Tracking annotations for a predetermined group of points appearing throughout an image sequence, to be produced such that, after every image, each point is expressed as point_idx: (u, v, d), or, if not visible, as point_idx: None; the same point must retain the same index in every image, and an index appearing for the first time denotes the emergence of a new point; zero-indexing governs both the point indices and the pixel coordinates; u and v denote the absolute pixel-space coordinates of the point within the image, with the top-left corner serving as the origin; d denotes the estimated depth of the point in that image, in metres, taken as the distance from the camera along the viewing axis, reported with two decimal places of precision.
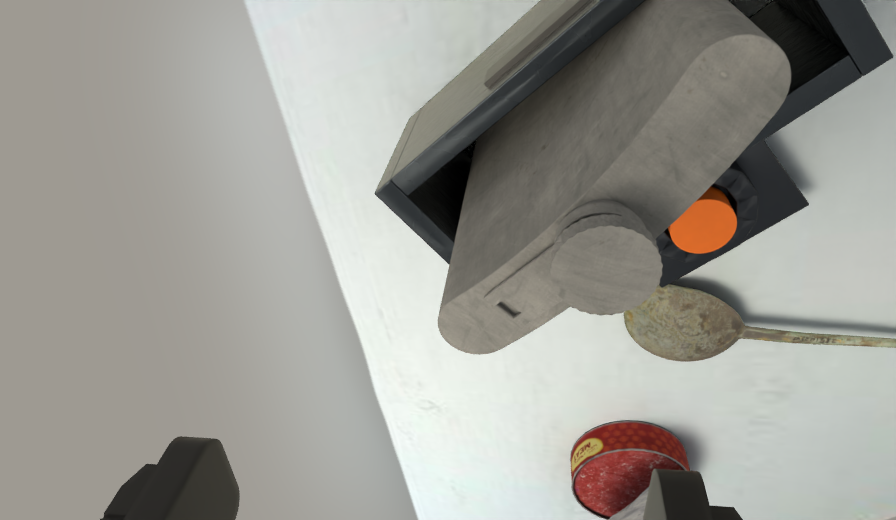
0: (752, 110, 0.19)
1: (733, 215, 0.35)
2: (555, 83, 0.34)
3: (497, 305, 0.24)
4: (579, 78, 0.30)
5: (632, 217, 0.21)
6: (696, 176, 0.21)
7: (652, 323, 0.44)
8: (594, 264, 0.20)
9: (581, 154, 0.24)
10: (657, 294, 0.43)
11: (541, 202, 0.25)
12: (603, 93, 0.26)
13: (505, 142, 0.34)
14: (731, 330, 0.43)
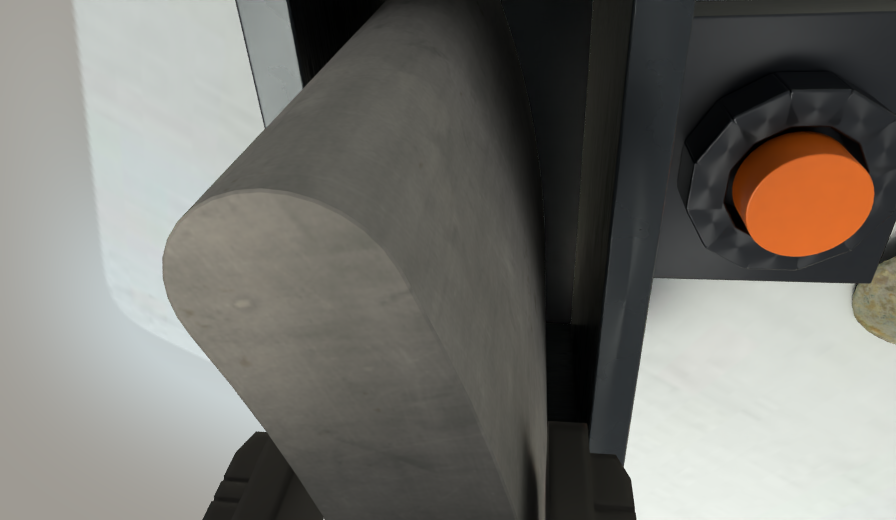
0: (363, 303, 0.08)
1: (836, 158, 0.18)
2: None
3: None
4: None
5: None
6: (443, 444, 0.09)
7: None
8: None
9: None
10: (880, 285, 0.25)
11: None
12: None
13: None
14: None
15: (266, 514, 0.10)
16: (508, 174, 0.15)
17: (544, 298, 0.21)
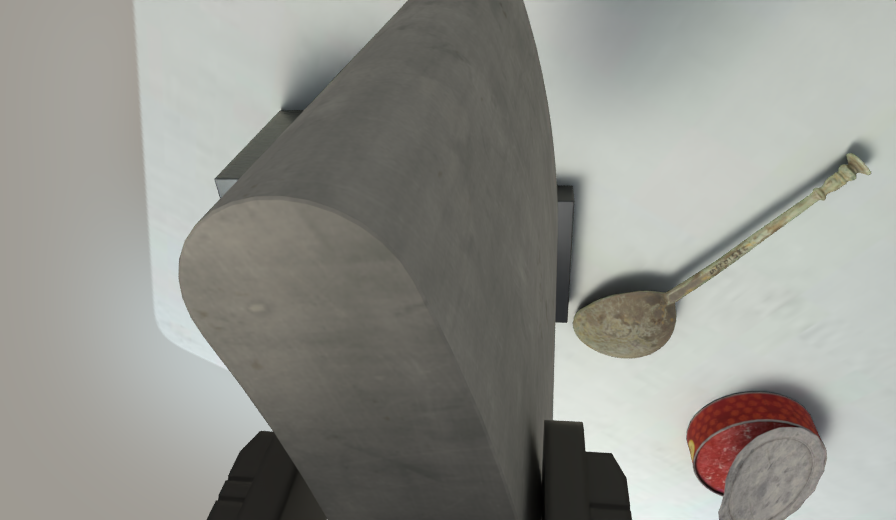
0: (377, 314, 0.08)
1: None
2: None
3: None
4: None
5: None
6: (451, 455, 0.09)
7: (599, 344, 0.46)
8: None
9: None
10: (579, 322, 0.46)
11: None
12: None
13: None
14: (652, 307, 0.43)
15: (271, 513, 0.10)
16: (525, 180, 0.15)
17: None
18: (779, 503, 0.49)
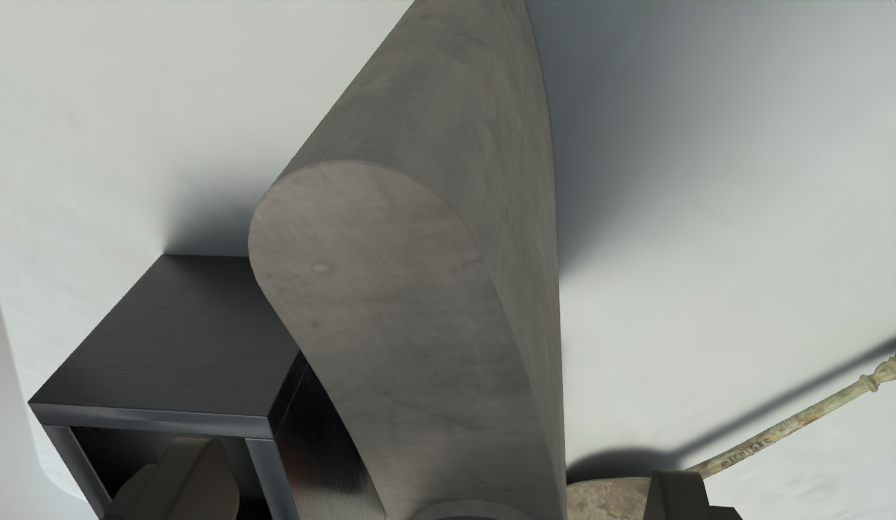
0: (435, 271, 0.08)
1: None
2: None
3: None
4: None
5: None
6: (494, 407, 0.09)
7: None
8: None
9: None
10: None
11: None
12: None
13: None
14: None
15: None
16: (537, 164, 0.16)
17: None
18: None
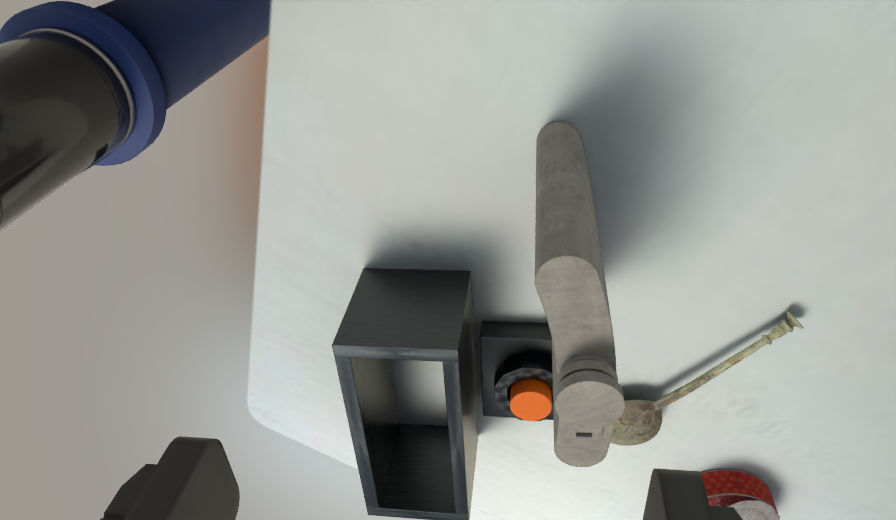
0: (586, 282, 0.31)
1: (535, 393, 0.53)
2: None
3: (577, 436, 0.37)
4: None
5: (583, 365, 0.33)
6: (598, 322, 0.32)
7: None
8: (578, 407, 0.33)
9: None
10: None
11: None
12: None
13: None
14: (644, 412, 0.57)
15: None
16: (598, 236, 0.39)
17: None
18: None
